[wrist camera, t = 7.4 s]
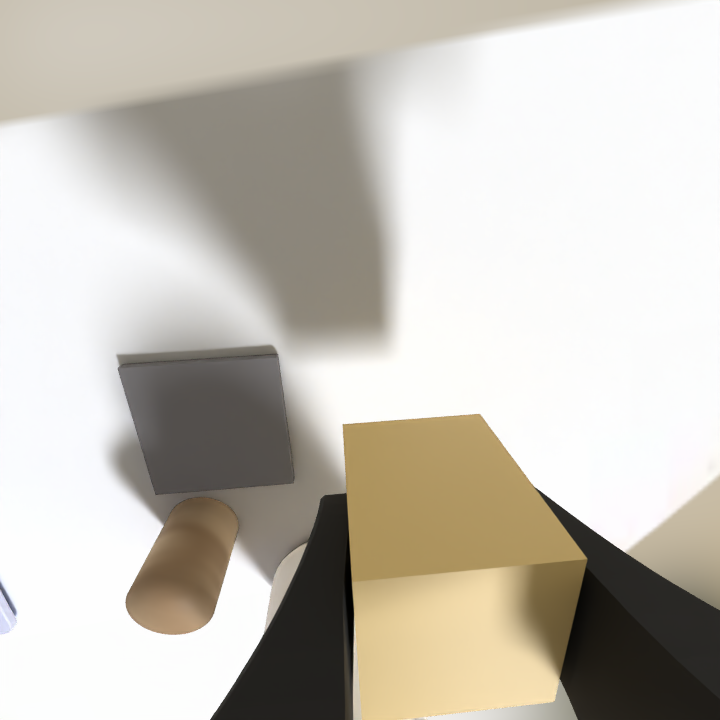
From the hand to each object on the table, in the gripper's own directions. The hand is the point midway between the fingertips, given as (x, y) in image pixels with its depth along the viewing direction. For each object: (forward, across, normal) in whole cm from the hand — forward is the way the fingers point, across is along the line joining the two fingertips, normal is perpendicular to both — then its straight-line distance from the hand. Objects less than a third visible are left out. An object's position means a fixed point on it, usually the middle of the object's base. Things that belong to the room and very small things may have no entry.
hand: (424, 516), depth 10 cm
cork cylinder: (+7, +9, +6) cm, 13 cm away
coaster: (+7, +7, 0) cm, 10 cm away
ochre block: (+2, 0, 0) cm, 2 cm away
